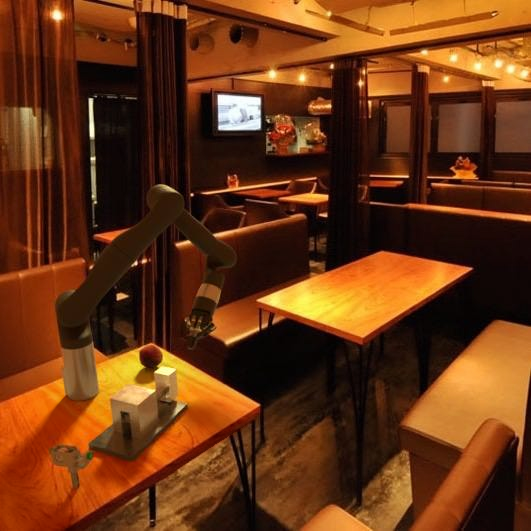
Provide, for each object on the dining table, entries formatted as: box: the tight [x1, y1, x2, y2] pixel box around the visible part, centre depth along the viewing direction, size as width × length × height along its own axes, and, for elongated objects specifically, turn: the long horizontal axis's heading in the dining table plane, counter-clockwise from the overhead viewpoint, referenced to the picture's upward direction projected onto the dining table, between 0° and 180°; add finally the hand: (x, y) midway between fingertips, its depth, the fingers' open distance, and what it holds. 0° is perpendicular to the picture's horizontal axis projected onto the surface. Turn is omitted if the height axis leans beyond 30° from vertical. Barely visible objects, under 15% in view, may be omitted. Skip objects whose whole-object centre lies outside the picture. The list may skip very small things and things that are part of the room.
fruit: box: [138, 344, 164, 370], centre depth 171 cm, size 8×8×8 cm
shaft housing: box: [87, 383, 189, 463], centre depth 137 cm, size 14×26×12 cm, turn 157°
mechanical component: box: [48, 443, 94, 489], centre depth 115 cm, size 3×10×10 cm, turn 78°
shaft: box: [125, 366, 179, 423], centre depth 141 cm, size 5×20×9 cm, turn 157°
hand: (189, 348), depth 159 cm, fingers closed
